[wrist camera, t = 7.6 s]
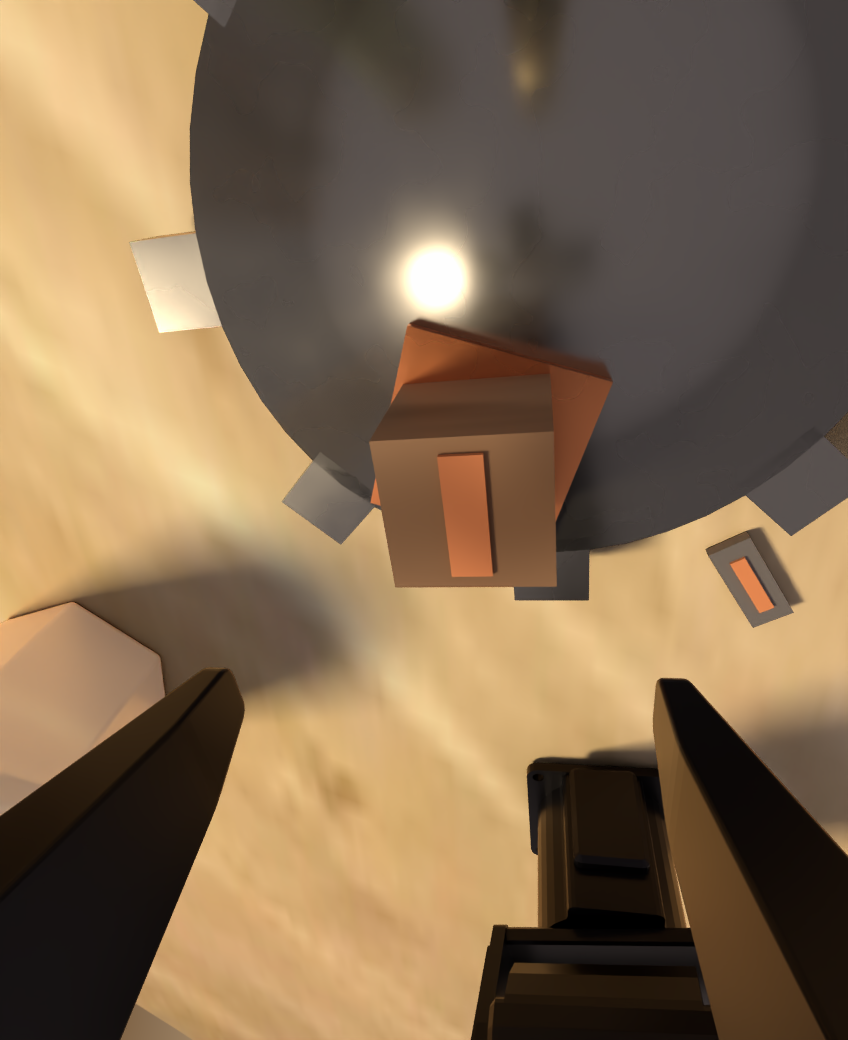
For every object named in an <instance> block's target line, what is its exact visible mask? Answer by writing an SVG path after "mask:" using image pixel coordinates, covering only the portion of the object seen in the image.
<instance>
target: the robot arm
mask: <svg viewBox="0 0 848 1040" xmlns="http://www.w3.org/2000/svg"><path fill="white" fill-rule="evenodd" d="M244 712H245V706H244V701H243V698H242V696H241V693H240V690H239V688H238V685H237V683H236V680H235V677H234V675H233V673H232V671H231V670H230V669H228V668H213V667H209V668H205V669H203V670H201V671H200V672H198V673H197V674H195V675H194V676H193V677H191V678H190V679H188V680H187V681H186V682H184V683H183V684H182V685H180V686H179V687H177V688H176V689H175V690H173V691H172V692H171V693H169V694H168V695H166V696H165V697H164V698H162V699H161V700H159V701H158V702H157V703H155V704H154V705H153V706H151V707H150V708H148V709H147V710H146V711H144V712H143V713H142V714H140V715H139V716H137V717H136V718H135V719H133V720H132V721H130V722H129V723H128V724H126V725H125V726H124V727H122V728H121V729H119V730H118V731H117V732H115V733H114V734H112V735H111V736H110V737H108V738H107V739H106V740H104V741H103V742H101V743H100V744H99V745H97V746H96V747H95V748H93V749H92V750H90V751H89V752H88V753H86V754H85V755H83V756H82V757H81V758H79V759H78V760H77V761H75V762H74V763H72V764H71V765H70V766H68V767H67V768H66V769H64V770H63V771H61V772H60V773H59V774H57V775H56V776H54V777H53V778H52V779H50V780H49V781H48V782H46V783H45V784H43V785H42V786H41V787H39V788H38V789H36V790H35V791H34V792H32V793H31V794H30V795H28V796H27V797H25V798H24V799H23V800H21V801H20V802H18V803H17V804H16V805H14V806H13V807H12V808H10V809H9V810H7V811H6V812H5V813H3V814H2V815H0V1040H120V1039H121V1037H122V1035H123V1032H124V1030H125V1027H126V1025H127V1023H128V1020H129V1018H130V1015H131V1013H132V1010H133V1008H134V1006H135V1003H136V1001H137V998H138V996H139V993H140V991H141V989H142V986H143V984H144V981H145V979H146V977H147V974H148V972H149V969H150V967H151V964H152V962H153V960H154V957H155V955H156V952H157V950H158V947H159V945H160V943H161V940H162V938H163V935H164V933H165V931H166V928H167V926H168V923H169V921H170V918H171V916H172V914H173V911H174V909H175V906H176V904H177V902H178V899H179V897H180V894H181V892H182V889H183V887H184V885H185V882H186V880H187V877H188V875H189V872H190V870H191V868H192V865H193V863H194V860H195V858H196V856H197V853H198V851H199V848H200V846H201V843H202V841H203V839H204V836H205V834H206V831H207V829H208V826H209V824H210V822H211V819H212V817H213V814H214V811H215V809H216V806H217V804H218V800H219V797H220V794H221V791H222V788H223V785H224V782H225V778H226V775H227V772H228V768H229V765H230V762H231V758H232V755H233V752H234V748H235V745H236V742H237V738H238V735H239V732H240V728H241V725H242V722H243V718H244ZM653 733H654V740H655V748H656V755H657V763H658V769H648V768H629V767H610V766H591V765H572V764H553V763H532V764H530V765H529V766H528V768H527V786H528V803H529V820H530V837H531V850H532V852H533V853H534V854H536V855H538V927H508V925H494V926H493V931H492V936H491V942H490V946H488V947H487V952H486V958H485V963H484V969H483V975H482V980H481V986H480V991H479V997H478V1003H477V1008H476V1014H475V1019H474V1025H473V1031H472V1036H471V1040H848V855H847V854H846V853H845V852H844V851H843V850H842V849H841V848H840V846H839V845H838V844H837V843H836V842H835V841H834V840H833V839H832V838H831V836H830V835H829V834H828V833H827V832H826V831H825V830H824V829H823V828H822V827H821V825H820V824H819V823H818V822H817V821H816V820H815V819H814V818H813V817H812V815H811V814H810V813H809V812H808V811H807V810H806V809H805V808H804V807H803V806H802V804H801V803H800V802H799V801H798V800H797V799H796V798H795V797H794V796H793V795H792V793H791V792H790V791H789V790H788V789H787V788H786V787H785V786H784V785H783V783H782V782H781V781H780V780H779V779H778V778H777V777H776V776H775V775H774V774H773V772H772V771H771V770H770V769H769V768H768V767H767V766H766V765H765V764H764V762H763V761H762V760H761V759H760V758H759V757H758V756H757V755H756V754H755V753H754V751H753V750H752V749H751V748H750V747H749V746H748V745H747V744H746V743H745V741H744V740H743V739H742V738H741V737H740V736H739V735H738V734H737V733H736V732H735V730H734V729H733V728H732V727H731V726H730V725H729V724H728V723H727V722H726V721H725V719H724V718H723V717H722V716H721V715H720V714H719V713H718V712H717V711H716V709H715V708H714V707H713V706H712V705H711V704H710V703H709V702H708V701H707V700H706V698H705V697H704V696H703V695H702V694H701V693H700V692H699V691H698V690H697V688H696V687H695V686H694V685H693V684H692V683H691V682H690V681H688V680H687V679H681V678H661V679H659V680H658V681H657V683H656V690H655V701H654V712H653ZM674 865H675V866H674ZM675 869H676V871H675ZM676 873H677V876H676ZM677 877H678V881H679V885H680V889H681V893H682V897H683V900H684V904H685V908H686V912H687V916H688V920H689V924H690V928H687V927H686V922H685V917H684V912H683V907H682V901H681V896H680V891H679V886H678V881H677Z"/></svg>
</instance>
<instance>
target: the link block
mask: <svg viewBox="0 0 848 1040" xmlns="http://www.w3.org/2000/svg"><path fill="white" fill-rule="evenodd" d="M369 444H370V449H371V455H372V460H373V466H374V471H375V477H376V482H377V488H378V493H379V499H380V505H381V510H382V516H383V521H384V527H385V532H386V538H387V543H388V549H389V554H390V560H391V565H392V571H393V576H394V582H395V587H557V573H556V520H555V467H554V426H553V410H552V394H551V379H550V374H537V375H523V376H510V377H496V378H482V379H469V380H455V381H441V382H428V383H414V384H403V385H402V387H401V388H400V390H399V392H398V393H397V395H396V397H395V399H394V400H393V402H392V404H391V405H390V407H389V409H388V410H387V412H386V414H385V415H384V417H383V419H382V421H381V422H380V424H379V426H378V427H377V429H376V431H375V432H374V434H373V436H372V437H371V439H370V441H369Z"/></svg>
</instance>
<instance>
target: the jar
mask: <svg viewBox="0 0 848 1040" xmlns="http://www.w3.org/2000/svg"><path fill="white" fill-rule="evenodd" d="M164 697H165V691H164V683H163V675H162V667H161V659H160V656H159V655H158V654H157V653H155V652H153V651H152V650H150V649H149V648H147V647H145V646H144V645H142V644H140V643H139V642H137V641H136V640H134V639H132V638H131V637H129V636H128V635H126V634H124V633H123V632H121V631H120V630H118V629H116V628H115V627H113V626H112V625H110V624H108V623H107V622H105V621H104V620H102V619H100V618H99V617H97V616H96V615H94V614H93V613H91V612H89V611H88V610H86V609H85V608H83V607H81V606H80V605H78V604H77V603H74V602H70V603H66V604H62V605H59V606H55V607H52V608H48V609H45V610H41V611H38V612H34V613H31V614H27V615H23V616H20V617H16V618H13V619H9V620H6V621H3V622H1V623H0V815H2V814H3V813H5V812H6V811H7V810H9V809H10V808H12V807H13V806H14V805H16V804H17V803H18V802H20V801H21V800H23V799H24V798H25V797H27V796H28V795H30V794H31V793H32V792H34V791H35V790H36V789H38V788H39V787H41V786H42V785H43V784H45V783H46V782H48V781H49V780H50V779H52V778H53V777H54V776H56V775H57V774H59V773H60V772H61V771H63V770H64V769H66V768H67V767H68V766H70V765H71V764H72V763H74V762H75V761H77V760H78V759H79V758H81V757H82V756H83V755H85V754H86V753H88V752H89V751H90V750H92V749H93V748H95V747H96V746H97V745H99V744H100V743H101V742H103V741H104V740H106V739H107V738H108V737H110V736H111V735H112V734H114V733H115V732H117V731H118V730H119V729H121V728H122V727H124V726H125V725H126V724H128V723H129V722H130V721H132V720H133V719H135V718H136V717H137V716H139V715H140V714H142V713H143V712H144V711H146V710H147V709H148V708H150V707H151V706H153V705H154V704H155V703H157V702H158V701H159V700H161V699H162V698H164Z"/></svg>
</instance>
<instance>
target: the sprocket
mask: <svg viewBox="0 0 848 1040" xmlns="http://www.w3.org/2000/svg"><path fill="white" fill-rule="evenodd" d="M194 1H195V2H196V3H197V4H198V5H199V6H200V7H201V8H203V9H204V10H205V11H206V12H207V13H208V14H209V15H208V19H207V24H206V29H205V33H204V38H203V42H202V47H201V51H200V56H199V60H198V65H197V69H196V76H195V85H194V95H193V104H192V114H191V123H190V186H191V195H192V204H193V213H194V221H195V230H196V231H193V232H185V233H178V234H170V235H163V236H156V237H152V238H147V239H142V240H137V241H132V242H129V243H130V246H131V249H132V252H133V255H134V258H135V261H136V264H137V267H138V270H139V273H140V276H141V279H142V282H143V285H144V288H145V291H146V294H147V297H148V300H149V303H150V306H151V309H152V312H153V315H154V318H155V321H156V324H157V327H158V330H159V333H160V332H170V331H180V330H191V329H201V328H211V327H221V326H222V327H223V330H224V332H225V334H226V336H227V338H228V340H229V342H230V345H231V347H232V349H233V351H234V353H235V355H236V357H237V359H238V362H239V364H240V366H241V367H242V369H243V371H244V372H245V374H246V376H247V377H248V379H249V381H250V382H251V384H252V386H253V387H254V389H255V390H256V392H257V394H258V395H259V397H260V399H261V400H262V402H263V403H264V404H265V406H266V407H267V408H268V410H269V411H270V412H271V414H272V415H273V416H274V417H275V419H276V420H277V421H278V423H279V424H280V425H281V427H282V428H283V429H284V431H285V432H286V433H287V434H288V435H289V436H290V437H291V438H292V439H293V440H294V442H295V443H296V444H297V445H298V446H299V447H300V448H301V449H302V450H303V451H304V452H305V453H306V454H307V455H308V456H309V457H310V458H311V459H312V460H313V461H312V462H311V464H310V465H309V466H308V468H307V469H306V470H305V471H304V473H303V474H302V475H301V477H300V478H299V479H298V481H297V482H296V483H295V485H294V486H293V487H292V489H291V490H290V491H289V493H288V494H287V495H286V497H285V498H284V499H283V501H282V502H283V503H284V504H285V505H287V506H288V507H290V508H291V509H292V510H294V511H295V512H296V513H298V514H299V515H301V516H302V517H303V518H305V519H306V520H308V521H309V522H310V523H312V524H313V525H315V526H316V527H317V528H319V529H320V530H321V531H323V532H324V533H326V534H327V535H328V536H330V537H331V538H333V539H334V540H335V541H337V542H338V543H339V544H342V543H343V542H344V541H345V540H346V538H347V537H348V536H349V535H350V534H351V533H352V532H353V531H354V529H355V528H356V527H357V526H358V525H359V524H360V523H361V522H362V520H363V519H364V518H365V517H366V516H367V515H368V514H369V512H370V511H371V510H372V509H373V508H374V507H376V508H378V509H380V510H381V505H380V499H379V493H378V488H377V482H376V477H375V471H374V466H373V460H372V455H371V449H370V444H369V441H370V439H371V437H372V436H373V434H374V432H375V431H376V429H377V427H378V426H379V424H380V422H381V421H382V419H383V417H384V415H385V414H386V412H387V410H388V409H389V407H390V405H391V404H392V402H393V400H394V399H395V397H396V395H397V393H398V392H399V390H400V388H401V387H402V385H403V384H414V383H428V382H441V381H455V380H469V379H482V378H496V377H510V376H523V375H537V374H550V379H551V394H552V410H553V426H554V467H555V520H556V573H557V587H514V595H515V600H589V550H591V549H596V548H602V547H608V546H613V545H619V544H625V543H629V542H633V541H636V540H640V539H643V538H647V537H650V536H654V535H657V534H661V533H664V532H667V531H670V530H672V529H675V528H677V527H680V526H682V525H685V524H687V523H690V522H692V521H695V520H697V519H700V518H702V517H705V516H707V515H709V514H711V513H713V512H715V511H716V510H718V509H720V508H722V507H724V506H726V505H728V504H730V503H732V502H733V501H735V500H737V499H739V498H741V497H743V496H745V495H746V496H747V497H748V498H749V499H750V500H751V501H752V502H754V503H755V504H756V505H757V506H758V507H759V508H760V509H761V510H762V511H764V512H765V513H766V514H767V515H768V516H769V517H770V518H771V519H773V520H774V521H775V522H776V523H777V524H778V525H779V526H780V527H781V528H783V529H784V530H785V531H786V532H787V533H788V534H789V535H790V536H792V535H793V534H795V533H796V532H798V531H799V530H801V529H802V528H804V527H805V526H807V525H808V524H810V523H811V522H813V521H814V520H816V519H817V518H818V517H820V516H821V515H823V514H824V513H826V512H827V511H829V510H830V509H832V508H833V507H835V506H836V505H838V504H839V503H840V502H842V501H843V500H845V499H846V498H848V459H847V458H846V457H845V456H844V455H843V454H842V453H841V452H840V451H839V450H838V449H837V448H836V447H835V446H834V445H833V444H831V443H830V442H829V441H828V440H827V439H826V438H825V437H824V436H825V435H826V434H827V433H828V432H829V431H830V430H831V429H832V428H833V427H834V426H835V425H836V424H837V423H838V422H839V421H840V420H841V419H842V417H843V416H844V415H845V414H846V413H847V412H848V0H194Z"/></svg>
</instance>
